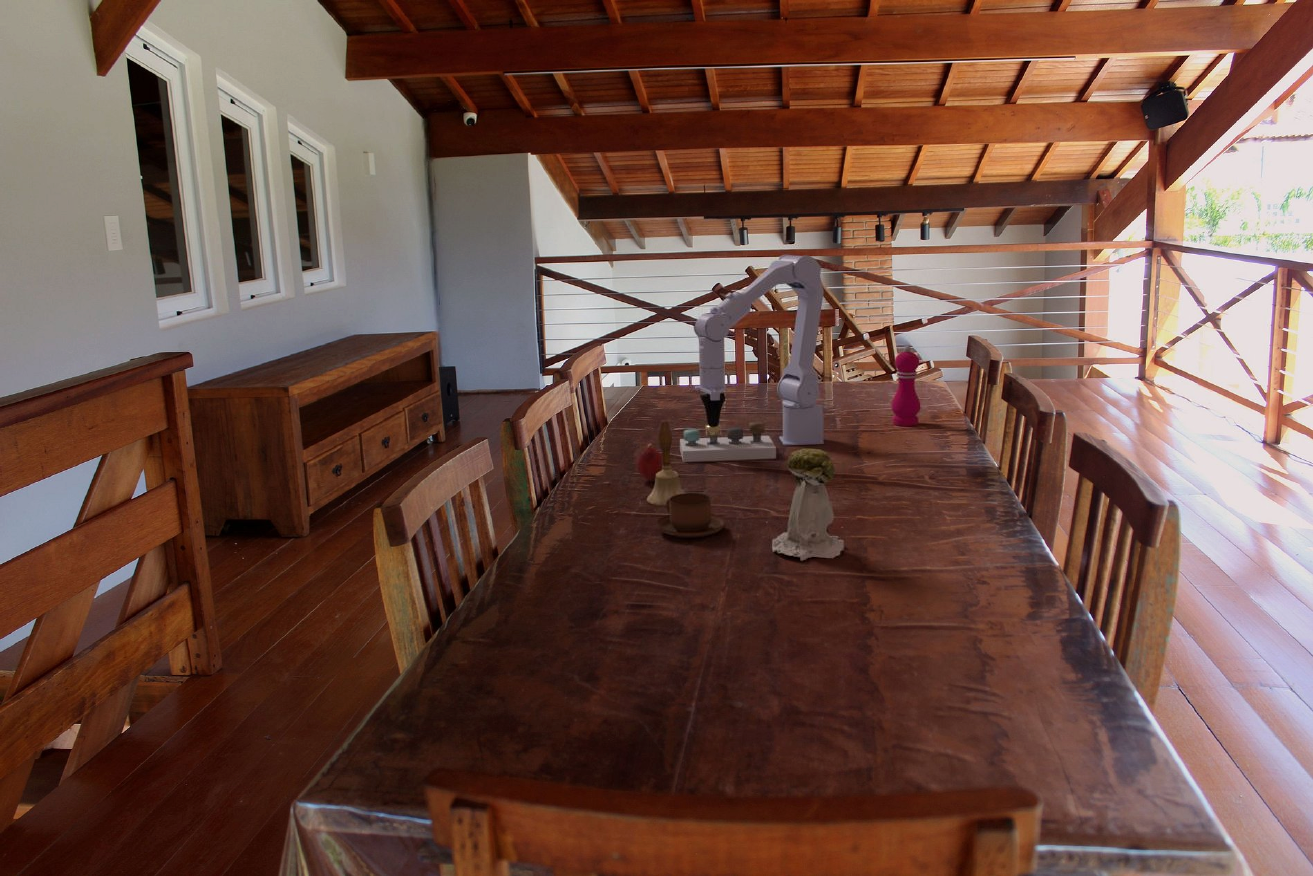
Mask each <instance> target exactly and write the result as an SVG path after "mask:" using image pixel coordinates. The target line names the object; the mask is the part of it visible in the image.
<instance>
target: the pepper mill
mask: <svg viewBox="0 0 1313 876" xmlns="http://www.w3.org/2000/svg"><path fill="white" fill-rule="evenodd" d="M911 350H912V348H911V346H909V345H905V346H904V347H903V351H902V352H900V353H898V354H897V355H896V357H895V358H894V366H895V368H896V369H897V371H896V377H897V379H898V385H897V386H898V387H897V390H896V392H895V395H894V397H893V399H892V401H891V405H890V406H891V407H890V408H891V409H890V410H891V411H892V412H893V413H894V416H893V417H892V424H893V425H895V426H898V425H902V426H901V427H912V426H911V425H915V426H918V424H919V417H918V415H917V414H919V412H920V411H921V401H920V399H919V397H918V393H917V390H916V387H915V386H916V385H915V383H916V378H917V377H918V375H917V374H918V371H917V369H918V368H919V365H920V358H919V357H918V355H917V353H915V352H911Z"/></svg>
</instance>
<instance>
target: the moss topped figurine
mask: <svg viewBox="0 0 1313 876" xmlns="http://www.w3.org/2000/svg"><path fill="white" fill-rule="evenodd" d="M785 466H786V468H787V469H788V471H789V472H790V473H791V474H793V476H794V480H795V483H796V484H797V485H796V487H795V489H794V492H793V496H792V500H791V505H790V510H789V517H788V522H787V531H785V532H783V533H781V534H779V535H777V537H776V538H773V539H772V542H771V543H772V544H771V550H772V552H776V553H777V554H784V555H786V556H791V557H792V556H793V557H797V558H800V561H805V560H807V559H808V558H812V557H815V558H826V559H834V558H835V557H838V556H840V555H841V552H842V551H843V552H845V543H844V542H845V541H844V540H843V539H839V538H840V537H839V536H837V535H830V533H829V525H831V524H832V522H833V521H834V517H835V515H834V510H833V507H832V505H833V503H832V500H830V497H829V495H828V491H827V488H826V486H825V483H827V482H831V481H832V480H833V479H834V477H835V474H834V473H835V463H834V462H833V461H832V459H831V457H830V455H828V453H827V452H826V451H824V450H822V449H818V448H817V449H816V448H801V449H798V450H794V451H791V452H790V455H789V456H788V457H787V461H786V464H785ZM812 535H813V536H812Z"/></svg>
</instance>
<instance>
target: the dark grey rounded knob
mask: <svg viewBox="0 0 1313 876" xmlns="http://www.w3.org/2000/svg"><path fill="white" fill-rule="evenodd" d="M726 434H727V435H726V437H727V438H728V439H731V445H734V444H739V439H743V437H744V429H743V428H741V427H729V428H727V430H726Z"/></svg>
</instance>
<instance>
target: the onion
mask: <svg viewBox="0 0 1313 876" xmlns="http://www.w3.org/2000/svg"><path fill="white" fill-rule="evenodd" d="M636 469H637V471H638V473H639V475H640V476H641V477H642V478H644V479H645V480H647V481H649V482H653V481H654V482H655V479H656V474H657V473H658V472H660V471H661V470H662V469H663V465H662V453H660V452H659V451H658V450H657V449H655V448H654V445H653V444H652V443H649V444H647V446H646V447H645V449H644V450H642V451H641V452H640V454H639V455H638V457H637V460H636Z"/></svg>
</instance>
